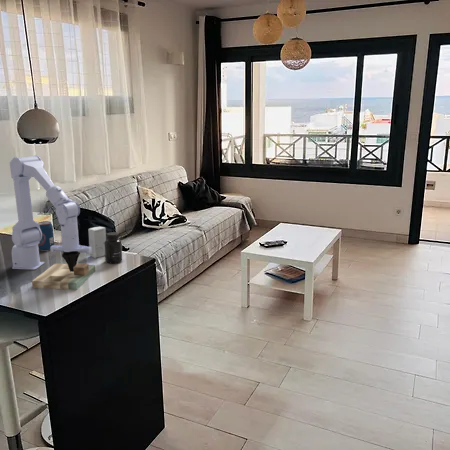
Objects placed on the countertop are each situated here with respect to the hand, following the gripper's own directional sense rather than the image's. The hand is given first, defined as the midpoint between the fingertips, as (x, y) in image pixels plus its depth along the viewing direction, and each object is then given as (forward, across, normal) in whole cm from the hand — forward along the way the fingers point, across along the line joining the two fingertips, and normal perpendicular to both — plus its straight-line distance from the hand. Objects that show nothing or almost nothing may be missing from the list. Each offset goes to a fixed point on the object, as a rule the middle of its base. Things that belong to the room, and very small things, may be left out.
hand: (72, 270), depth 164 cm
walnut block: (+1, +3, 0) cm, 3 cm away
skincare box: (+4, 0, +28) cm, 28 cm away
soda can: (+4, -26, +34) cm, 43 cm away
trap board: (+3, -3, 0) cm, 5 cm away
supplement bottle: (+4, +8, +20) cm, 22 cm away
